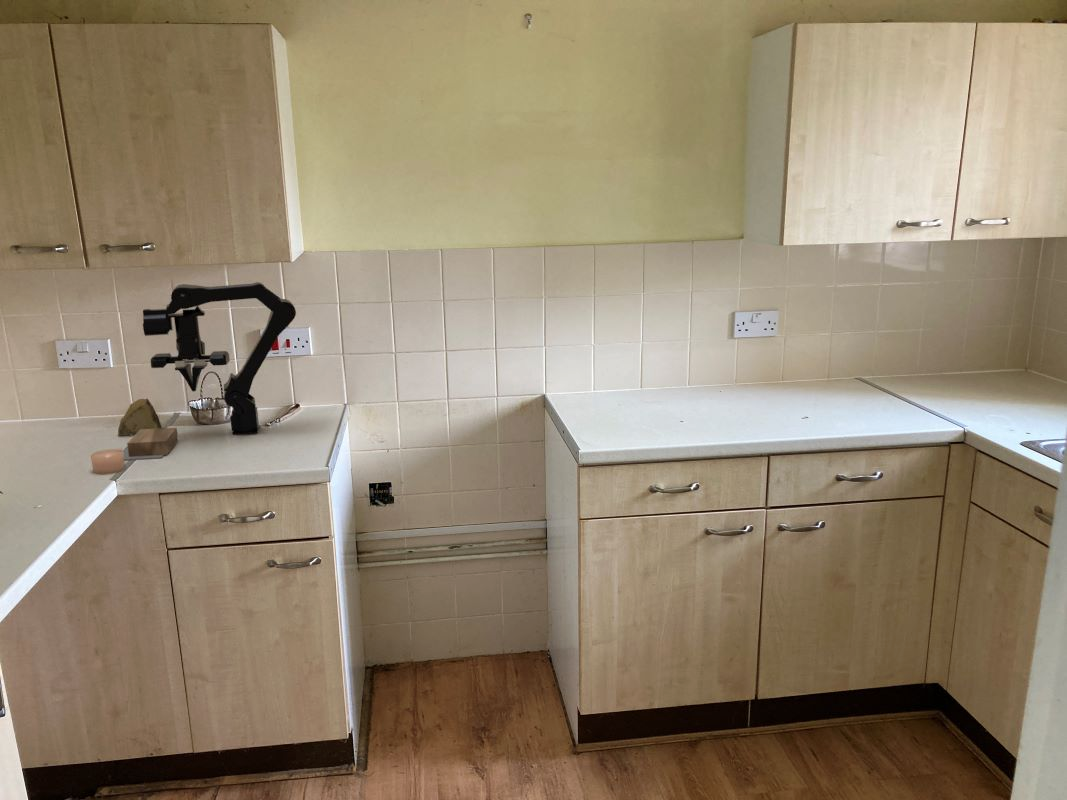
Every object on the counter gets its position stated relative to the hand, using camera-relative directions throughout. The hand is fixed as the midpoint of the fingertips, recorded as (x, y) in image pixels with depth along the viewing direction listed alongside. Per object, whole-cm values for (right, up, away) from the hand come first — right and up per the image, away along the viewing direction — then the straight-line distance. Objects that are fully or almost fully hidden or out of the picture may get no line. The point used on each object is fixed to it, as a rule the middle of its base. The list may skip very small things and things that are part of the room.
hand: (194, 391), depth 224 cm
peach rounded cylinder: (-11, -19, -22) cm, 31 cm away
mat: (-9, -15, -8) cm, 19 cm away
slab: (-3, -13, -8) cm, 15 cm away
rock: (-18, -11, +7) cm, 22 cm away
